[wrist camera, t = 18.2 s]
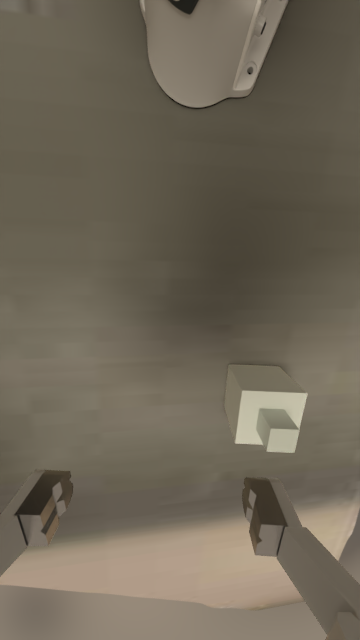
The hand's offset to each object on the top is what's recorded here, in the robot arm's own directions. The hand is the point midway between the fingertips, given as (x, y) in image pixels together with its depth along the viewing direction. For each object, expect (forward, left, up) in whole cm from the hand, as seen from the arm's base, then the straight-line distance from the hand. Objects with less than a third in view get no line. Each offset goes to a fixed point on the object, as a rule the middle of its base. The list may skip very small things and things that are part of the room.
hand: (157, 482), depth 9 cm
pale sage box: (+3, +20, -28) cm, 34 cm away
